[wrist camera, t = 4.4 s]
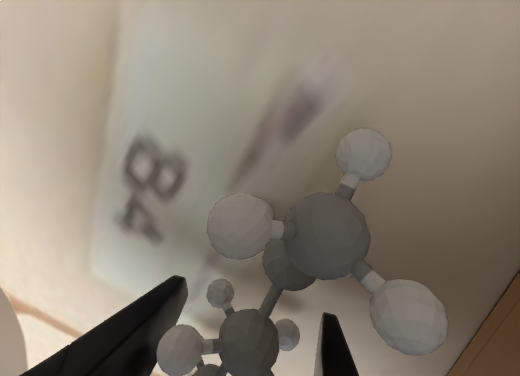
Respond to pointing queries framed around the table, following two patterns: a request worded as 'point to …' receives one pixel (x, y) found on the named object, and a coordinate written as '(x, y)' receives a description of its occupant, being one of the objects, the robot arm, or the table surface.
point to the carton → (495, 341)
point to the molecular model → (303, 273)
